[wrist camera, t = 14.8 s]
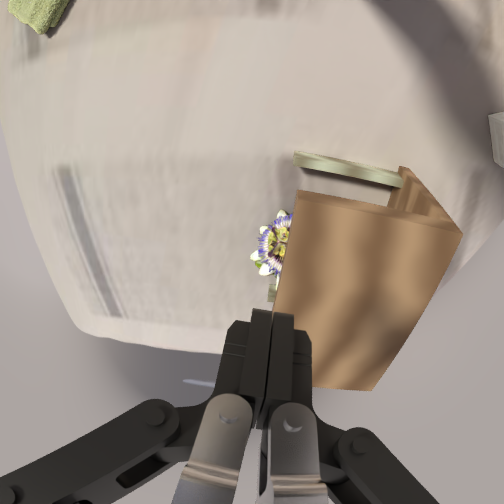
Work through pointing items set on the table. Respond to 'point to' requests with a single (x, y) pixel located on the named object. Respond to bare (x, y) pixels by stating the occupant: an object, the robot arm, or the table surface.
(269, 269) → the passion flower
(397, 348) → the shelf
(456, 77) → the table surface
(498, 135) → the supplement box
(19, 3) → the washcloth
